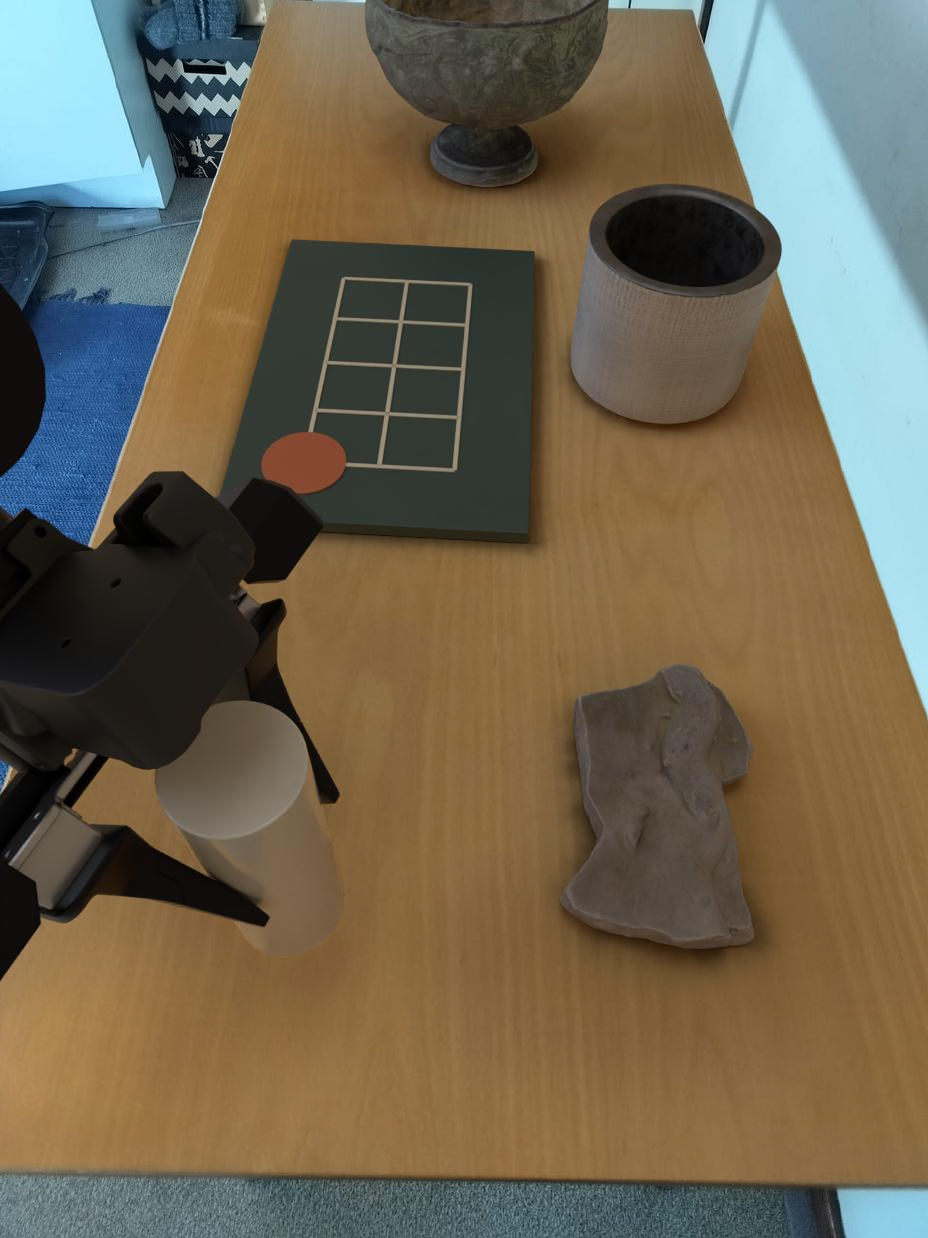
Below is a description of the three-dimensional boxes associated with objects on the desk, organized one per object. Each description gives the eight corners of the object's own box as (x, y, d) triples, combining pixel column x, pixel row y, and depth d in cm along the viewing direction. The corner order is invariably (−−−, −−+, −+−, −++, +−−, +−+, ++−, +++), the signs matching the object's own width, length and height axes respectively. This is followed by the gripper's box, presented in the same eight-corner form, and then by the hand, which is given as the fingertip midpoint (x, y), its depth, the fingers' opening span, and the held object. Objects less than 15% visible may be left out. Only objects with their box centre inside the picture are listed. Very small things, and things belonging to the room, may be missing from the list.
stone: (758, 971, 44) (783, 948, 40) (556, 945, 44) (565, 920, 41) (742, 703, 52) (763, 665, 49) (573, 684, 53) (581, 645, 49)
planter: (760, 425, 65) (812, 289, 56) (586, 438, 64) (610, 302, 55) (711, 313, 72) (750, 176, 63) (554, 323, 71) (571, 185, 62)
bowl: (590, 108, 90) (613, -74, 77) (588, 221, 79) (614, 30, 66) (390, 96, 90) (381, -87, 78) (360, 206, 80) (345, 14, 67)
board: (216, 526, 59) (213, 514, 58) (292, 249, 76) (290, 237, 75) (527, 543, 58) (529, 531, 58) (534, 261, 75) (535, 248, 75)
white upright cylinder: (225, 955, 37) (138, 836, 26) (243, 845, 40) (171, 697, 29) (339, 958, 37) (298, 841, 26) (349, 849, 40) (316, 701, 29)
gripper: (-399, 872, 15) (277, 1219, 22) (222, 261, 25) (558, 630, 32) (-384, 849, 23) (104, 1106, 30) (79, 396, 33) (369, 666, 40)
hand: (298, 859), depth 33 cm, fingers closed on white upright cylinder, 4 cm apart
